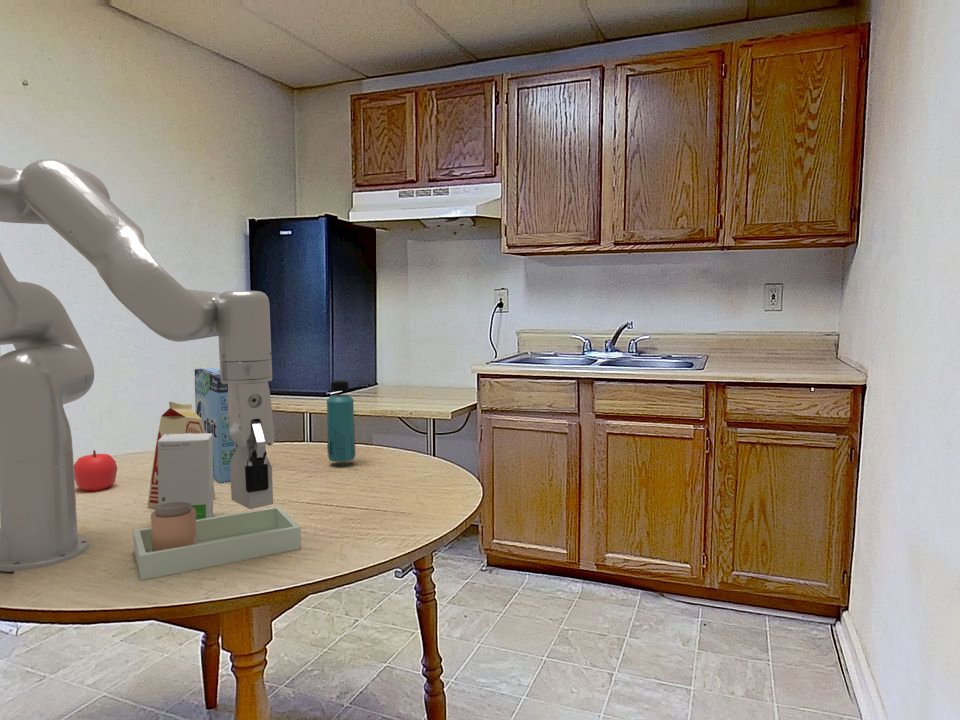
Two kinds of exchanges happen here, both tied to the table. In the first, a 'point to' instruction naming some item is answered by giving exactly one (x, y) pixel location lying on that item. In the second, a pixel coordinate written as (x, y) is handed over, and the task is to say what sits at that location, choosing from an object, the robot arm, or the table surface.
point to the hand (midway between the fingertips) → (251, 483)
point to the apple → (95, 472)
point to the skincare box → (186, 471)
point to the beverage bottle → (340, 424)
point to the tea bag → (239, 482)
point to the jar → (173, 526)
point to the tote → (220, 542)
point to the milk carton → (173, 422)
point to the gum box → (215, 418)
